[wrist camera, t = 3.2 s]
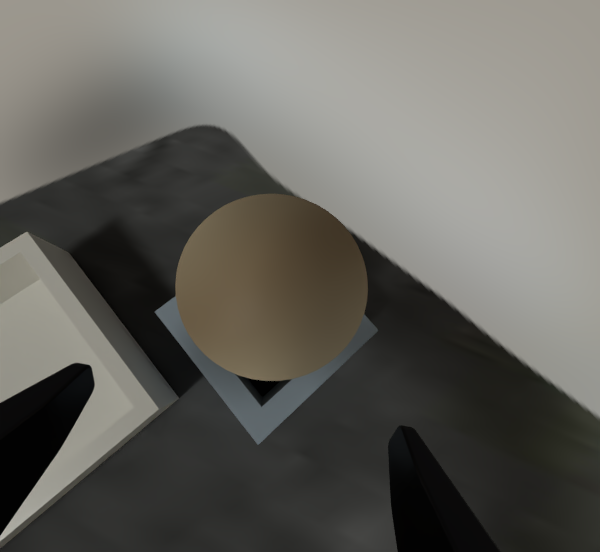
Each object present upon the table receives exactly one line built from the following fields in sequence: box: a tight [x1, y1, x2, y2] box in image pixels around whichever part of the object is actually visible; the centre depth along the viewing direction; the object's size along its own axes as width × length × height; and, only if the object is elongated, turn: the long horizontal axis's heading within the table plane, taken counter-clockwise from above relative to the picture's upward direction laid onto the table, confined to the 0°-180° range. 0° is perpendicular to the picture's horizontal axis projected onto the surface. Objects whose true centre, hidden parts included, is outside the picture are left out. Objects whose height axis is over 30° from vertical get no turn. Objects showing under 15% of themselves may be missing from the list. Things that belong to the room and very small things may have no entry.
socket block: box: [155, 296, 378, 445], centre depth 18 cm, size 8×8×4 cm
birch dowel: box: [175, 194, 368, 381], centre depth 13 cm, size 4×4×13 cm
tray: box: [0, 232, 179, 548], centre depth 16 cm, size 12×12×4 cm
